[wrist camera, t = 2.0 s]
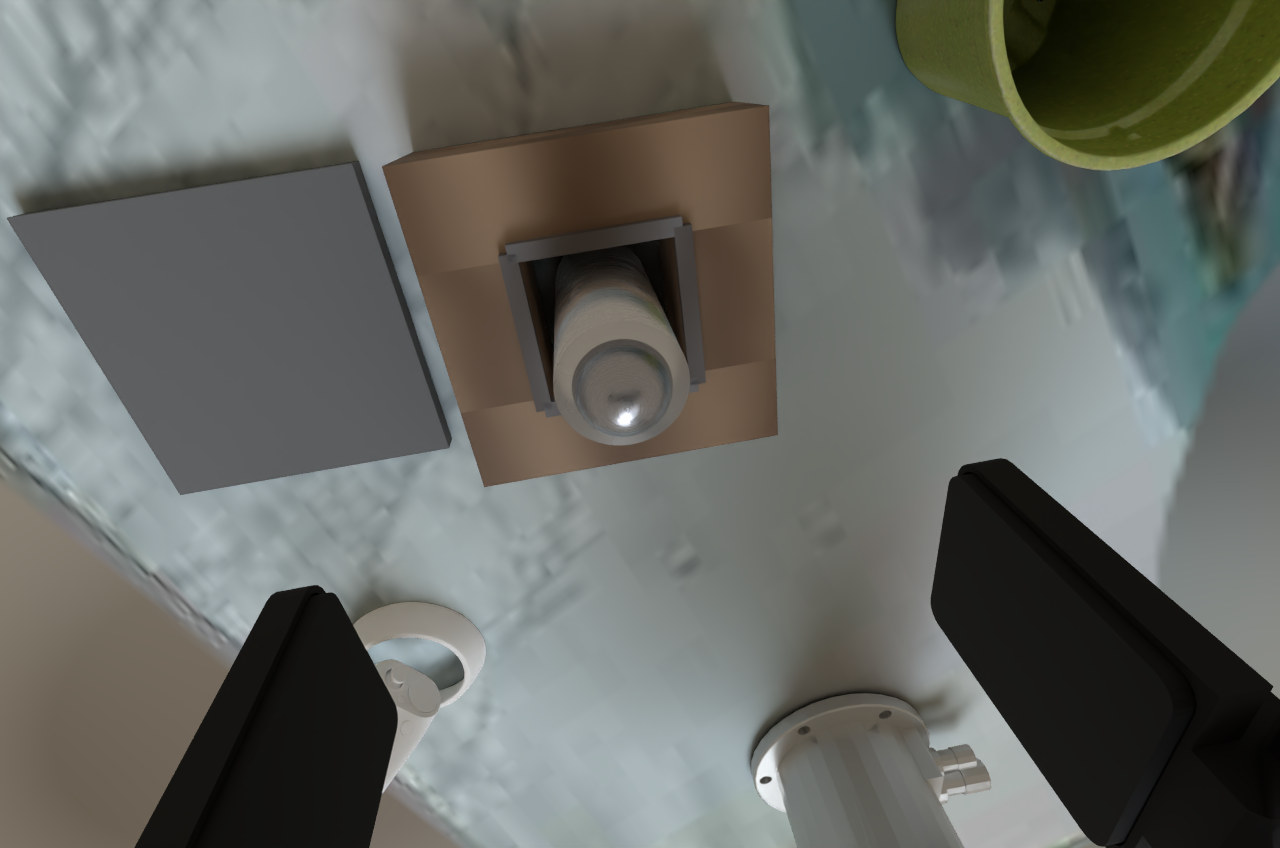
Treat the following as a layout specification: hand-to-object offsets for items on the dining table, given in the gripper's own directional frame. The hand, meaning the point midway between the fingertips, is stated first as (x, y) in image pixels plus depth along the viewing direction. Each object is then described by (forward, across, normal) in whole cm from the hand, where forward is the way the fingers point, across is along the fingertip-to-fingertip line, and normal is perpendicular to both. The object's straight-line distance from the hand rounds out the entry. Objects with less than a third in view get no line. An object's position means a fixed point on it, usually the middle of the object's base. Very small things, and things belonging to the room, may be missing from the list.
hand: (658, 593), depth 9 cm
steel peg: (+18, 0, +1) cm, 18 cm away
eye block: (+18, 0, +1) cm, 18 cm away
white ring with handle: (+18, +14, +20) cm, 30 cm away
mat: (+18, +14, +1) cm, 23 cm away
